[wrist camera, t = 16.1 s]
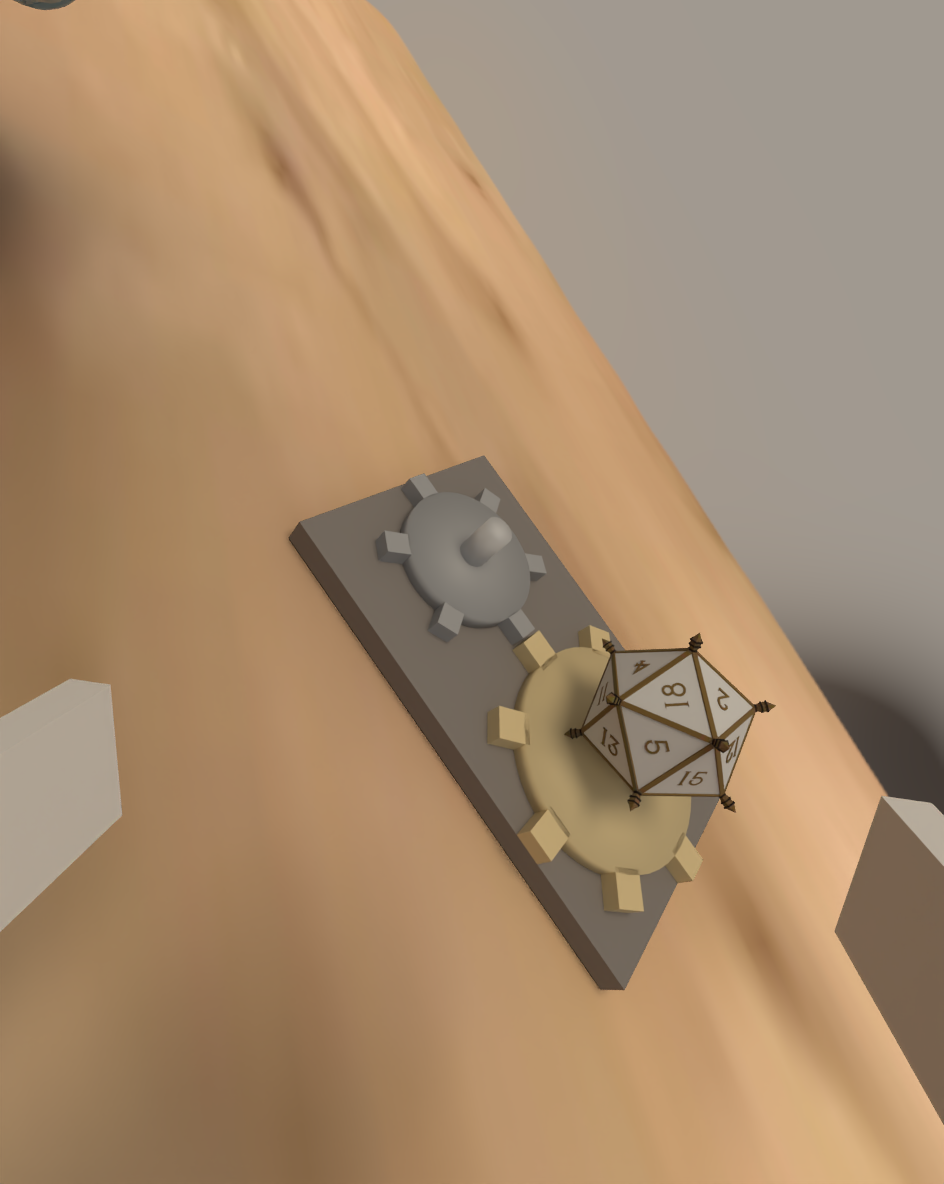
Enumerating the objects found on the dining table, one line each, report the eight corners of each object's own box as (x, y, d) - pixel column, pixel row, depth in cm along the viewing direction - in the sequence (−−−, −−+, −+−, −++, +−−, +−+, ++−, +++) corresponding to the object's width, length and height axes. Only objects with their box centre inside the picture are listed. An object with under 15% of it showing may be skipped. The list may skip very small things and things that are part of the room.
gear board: (288, 538, 30) (328, 479, 26) (471, 469, 40) (516, 420, 37) (600, 989, 28) (687, 991, 24) (704, 793, 39) (775, 775, 35)
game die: (536, 735, 34) (580, 579, 30) (671, 741, 36) (731, 594, 32) (585, 871, 27) (654, 687, 22) (754, 869, 28) (848, 698, 24)
